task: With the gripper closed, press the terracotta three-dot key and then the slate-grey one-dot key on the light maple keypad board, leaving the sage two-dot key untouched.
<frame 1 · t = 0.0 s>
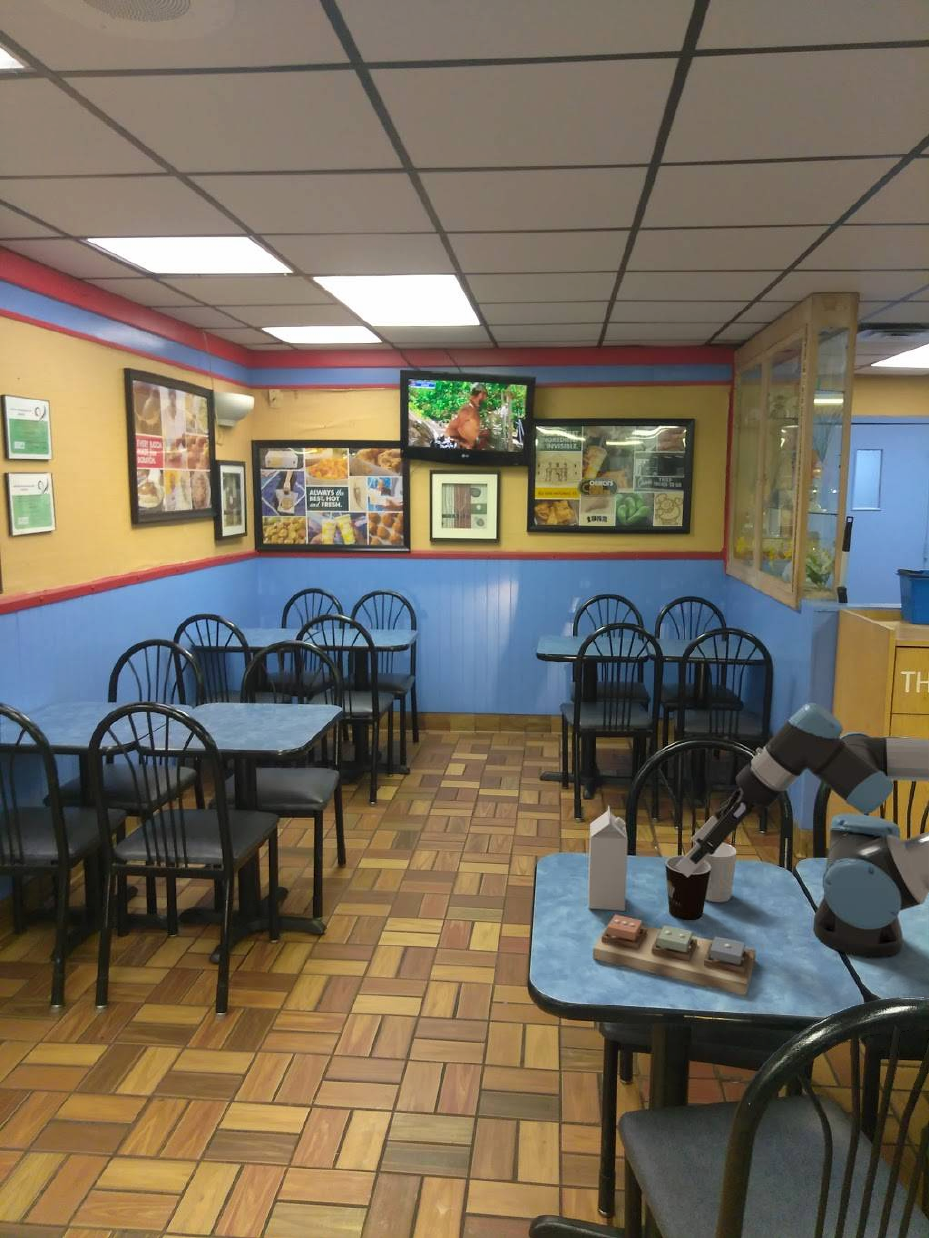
hand: (689, 857, 162), 15 cm above the table, tool tilted 35°, fingers open, 13 cm apart
milk carton: (605, 903, 177), on the table
coffee mug: (685, 910, 174), on the table
key two dots: (674, 938, 155), point 4 cm above the table, slide at 0.0 cm
key three dots: (624, 926, 159), point 4 cm above the table, slide at 0.0 cm
white cup: (713, 896, 181), on the table
keypad board: (673, 959, 155), on the table
key one dot: (727, 949, 151), point 4 cm above the table, slide at 0.0 cm
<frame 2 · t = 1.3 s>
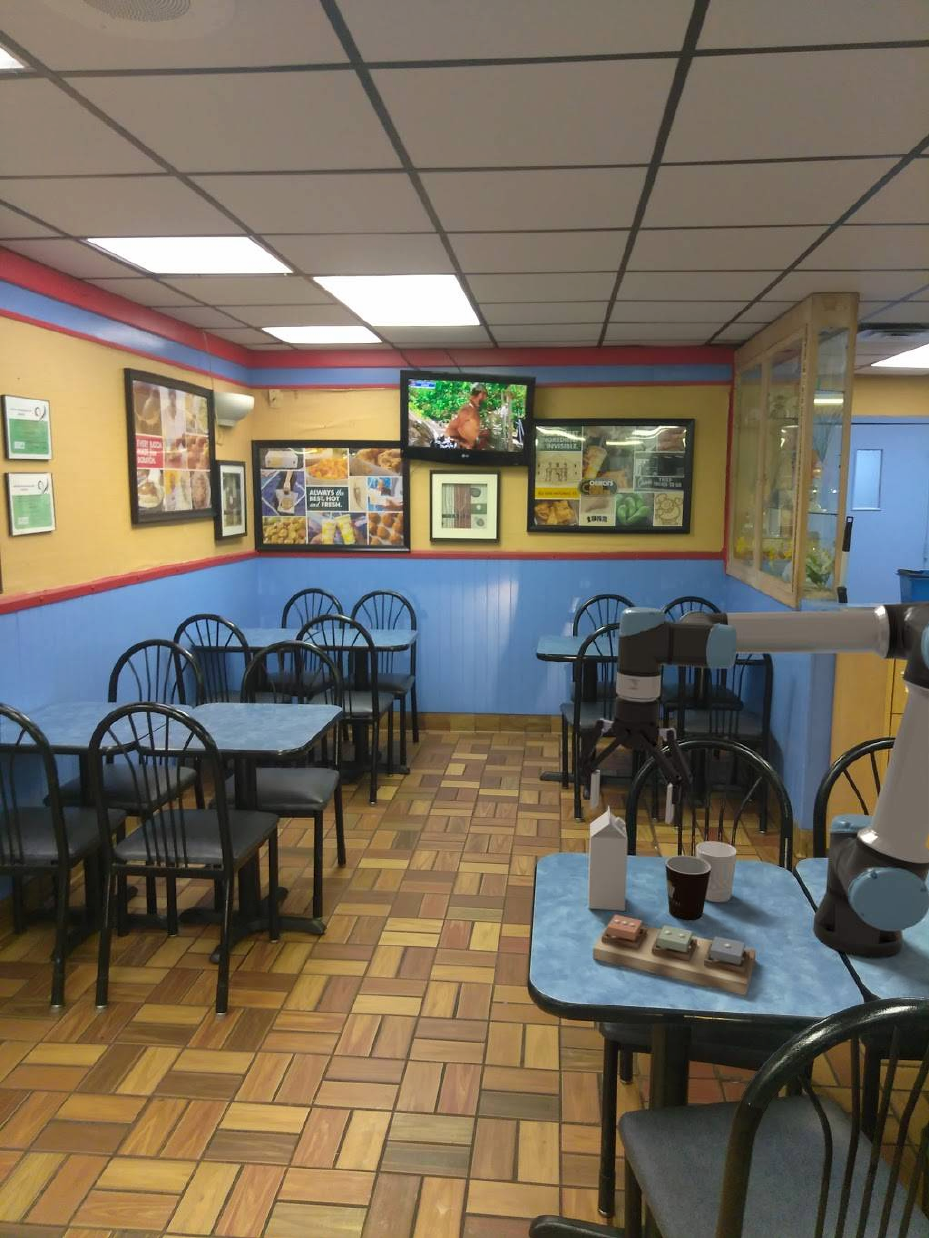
hand: (630, 813, 156), 25 cm above the table, tool pointing down, fingers open, 13 cm apart
nothing on the table moved.
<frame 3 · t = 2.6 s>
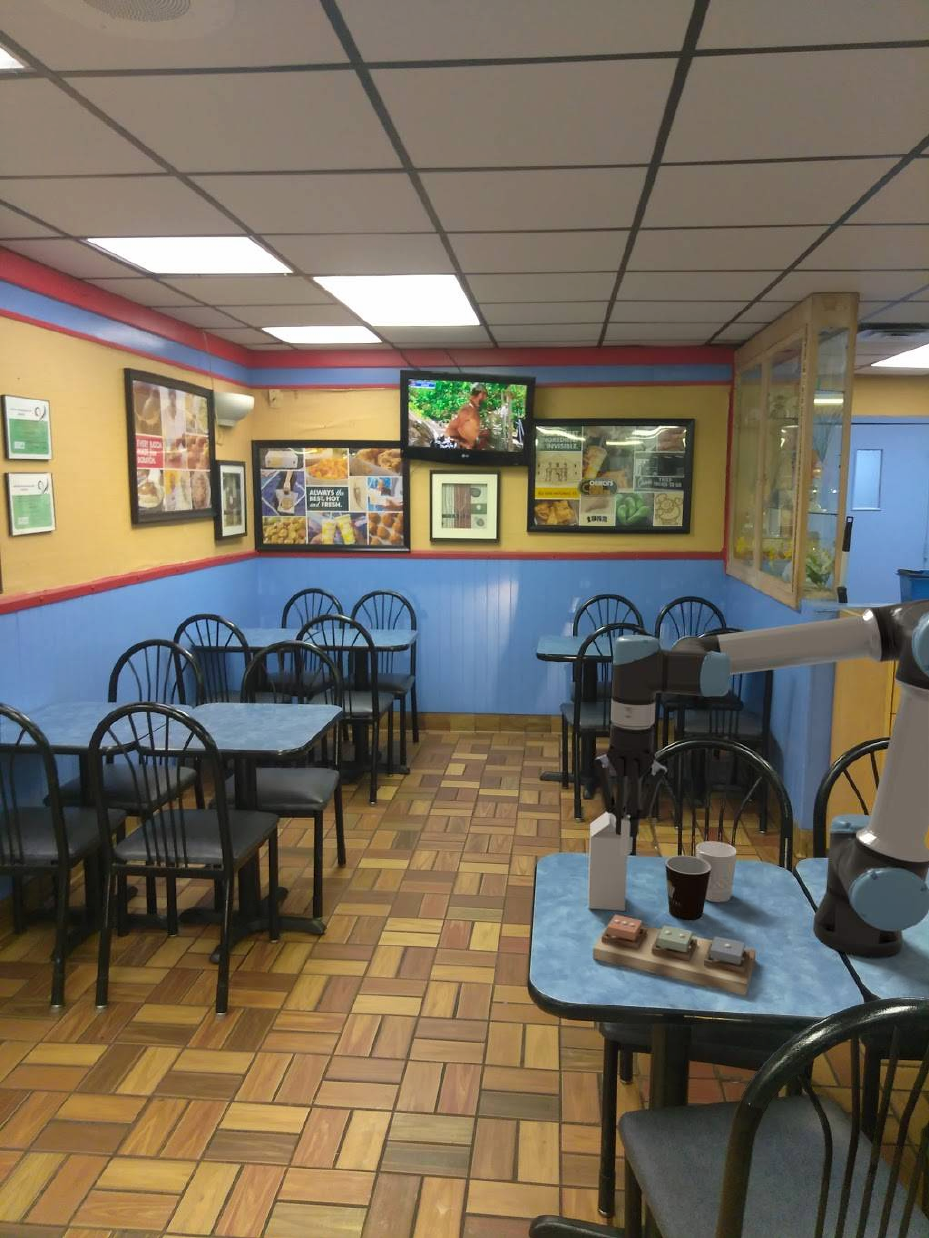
hand: (625, 852, 157), 18 cm above the table, tool pointing down, fingers closed
nothing on the table moved.
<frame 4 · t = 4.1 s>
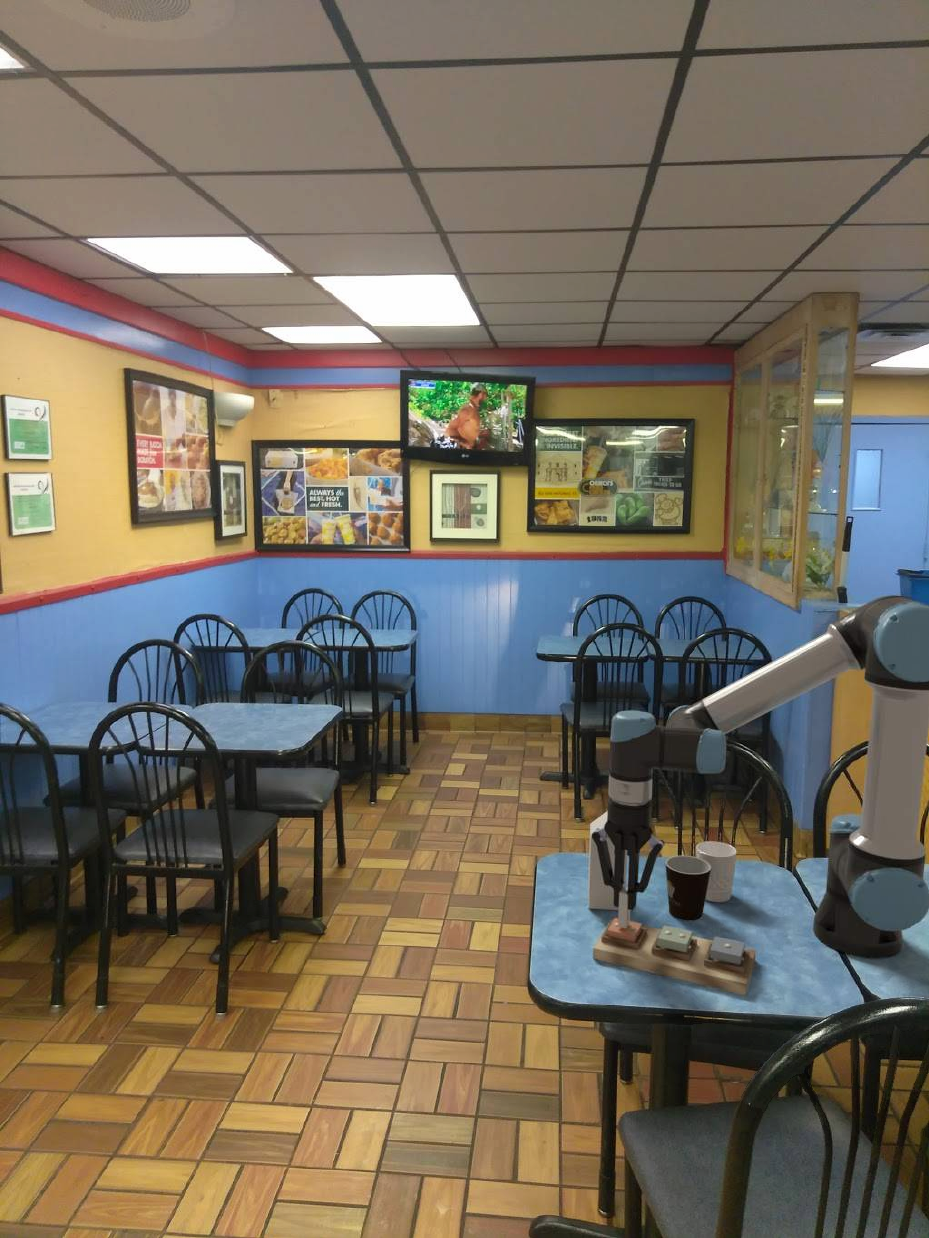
hand: (623, 924, 159), 5 cm above the table, tool pointing down, fingers closed
key three dots: (624, 930, 159), point 3 cm above the table, slide at 0.6 cm, touching gripper
everything else where it was.
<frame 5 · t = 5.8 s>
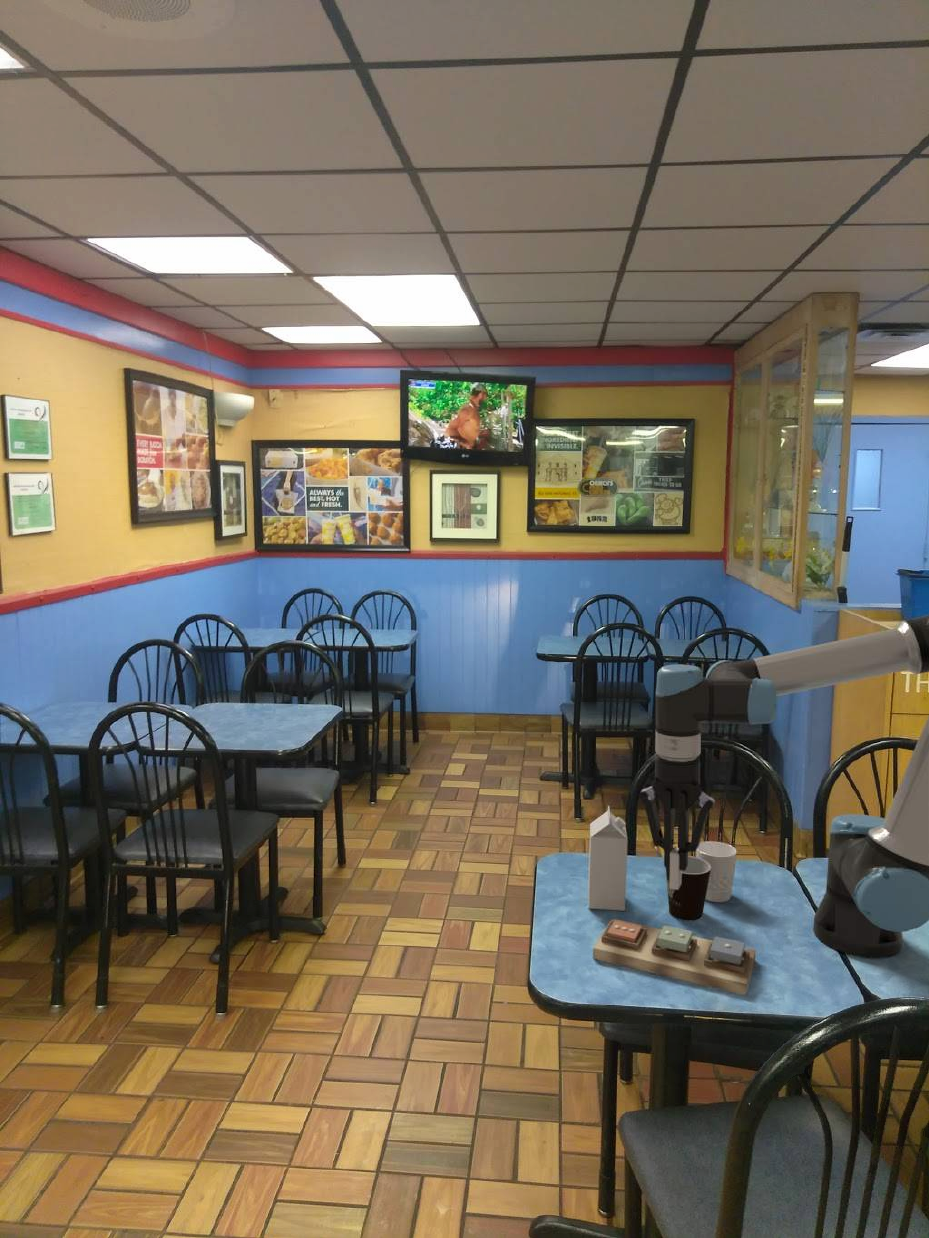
hand: (675, 885, 154), 14 cm above the table, tool pointing down, fingers closed
key three dots: (624, 932, 159), point 3 cm above the table, slide at 1.1 cm
everything else where it was.
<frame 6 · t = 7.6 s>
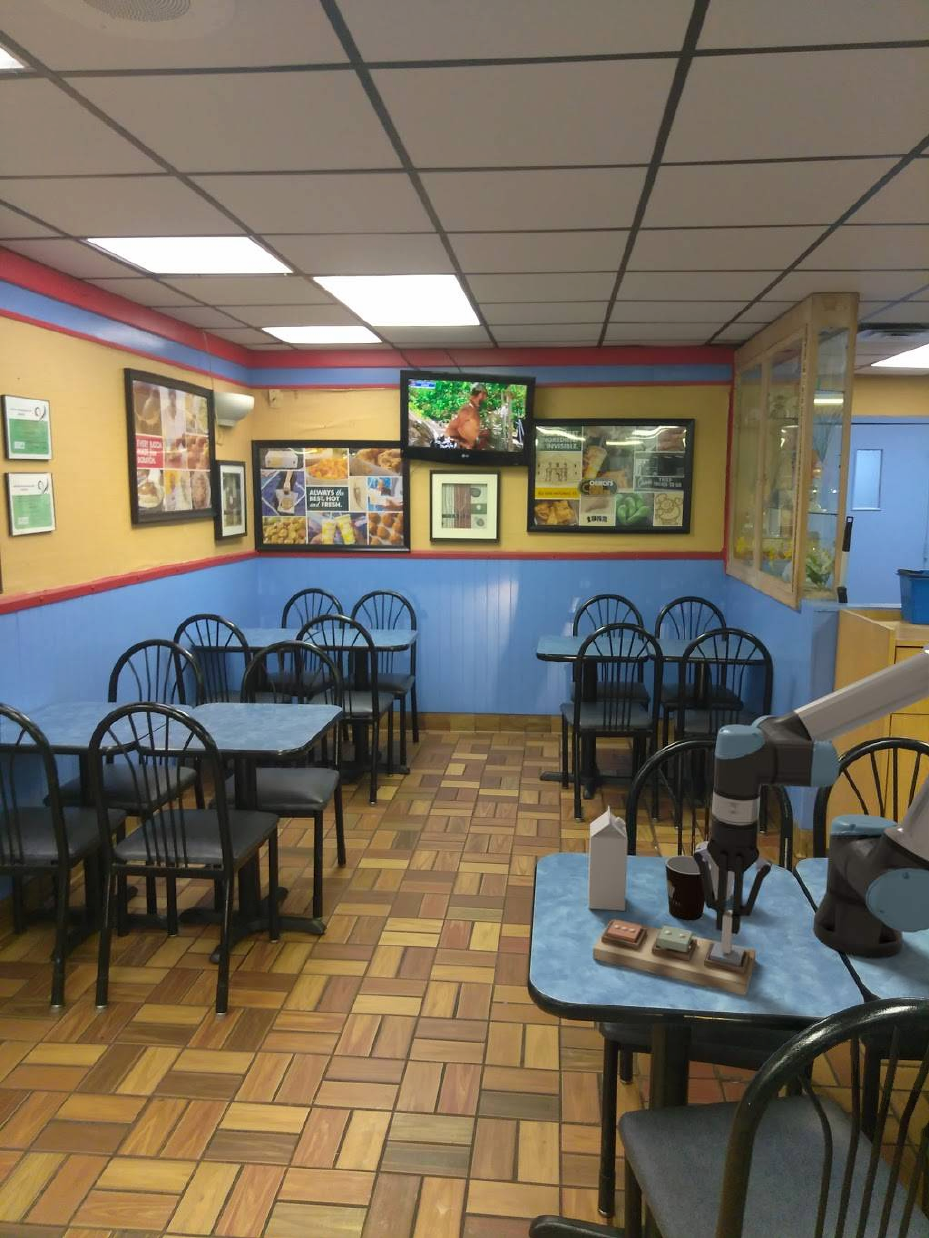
hand: (726, 948, 151), 4 cm above the table, tool pointing down, fingers closed
key one dot: (727, 954, 151), point 3 cm above the table, slide at 1.0 cm, touching gripper
everything else where it was.
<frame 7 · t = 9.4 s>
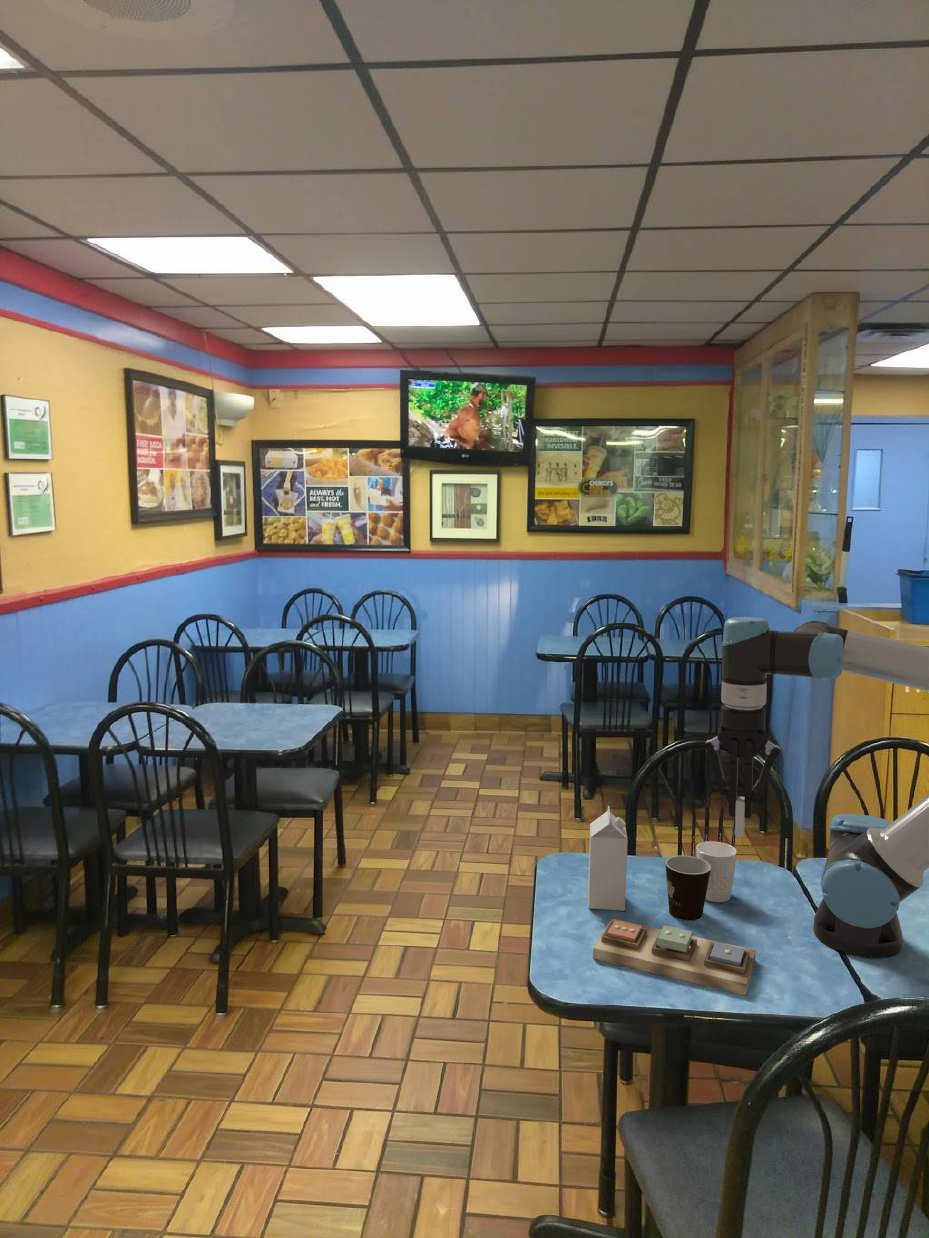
hand: (739, 833, 158), 21 cm above the table, tool pointing down, fingers closed
key one dot: (727, 955, 151), point 3 cm above the table, slide at 1.1 cm
everything else where it was.
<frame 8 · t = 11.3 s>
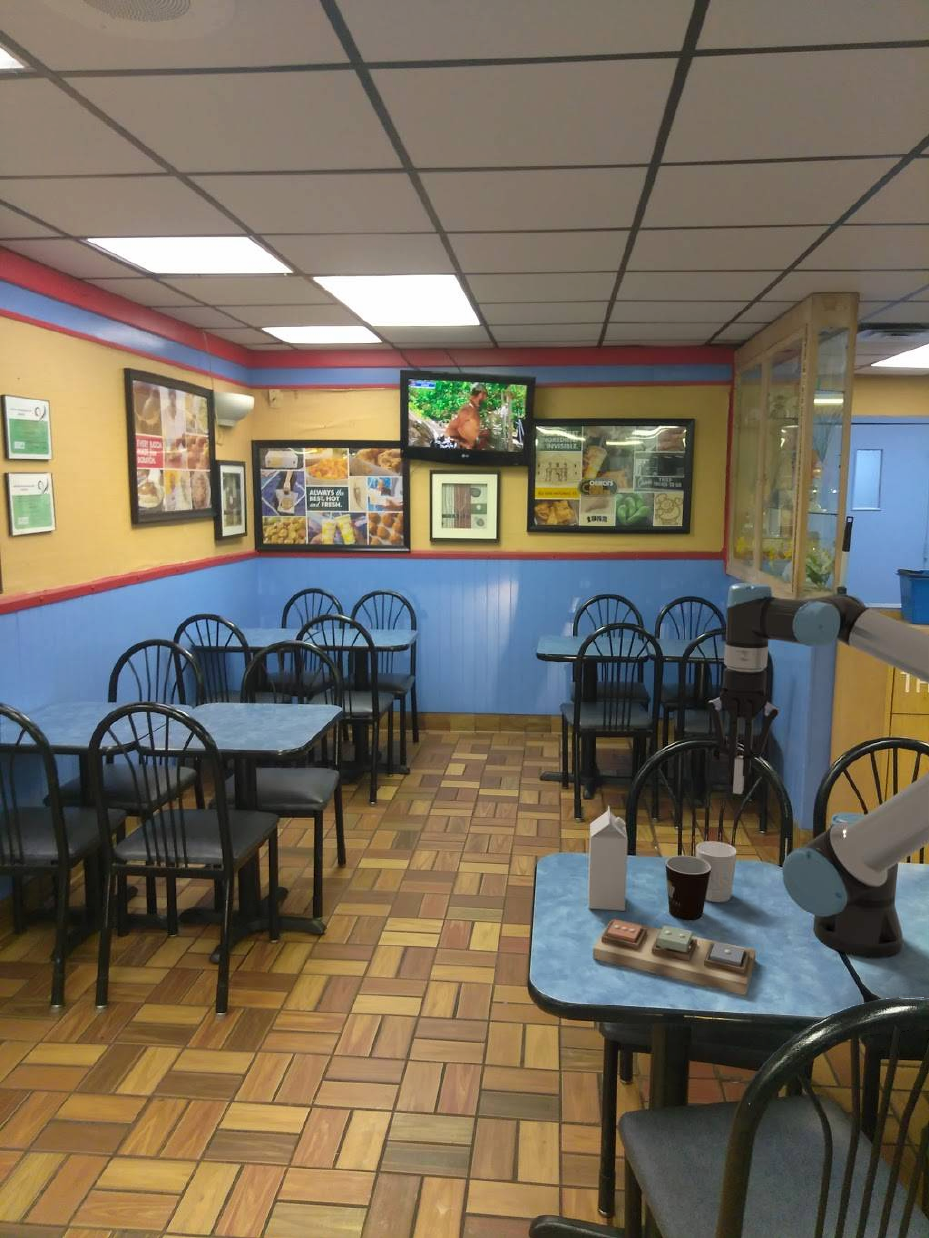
hand: (738, 791, 165), 26 cm above the table, tool pointing down, fingers closed
nothing on the table moved.
at the end: key three dots slide at 1.1 cm; key one dot slide at 1.1 cm; key two dots slide at 0.0 cm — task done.
